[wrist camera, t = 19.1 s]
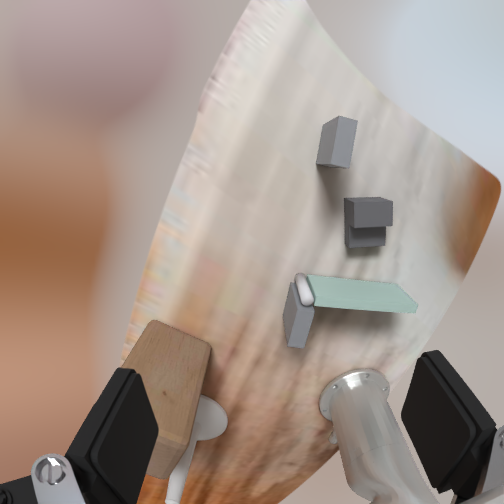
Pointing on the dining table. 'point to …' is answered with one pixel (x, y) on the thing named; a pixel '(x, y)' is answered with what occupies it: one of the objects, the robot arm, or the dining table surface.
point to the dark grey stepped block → (367, 221)
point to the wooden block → (170, 388)
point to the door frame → (332, 155)
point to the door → (353, 294)
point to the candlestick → (205, 427)
